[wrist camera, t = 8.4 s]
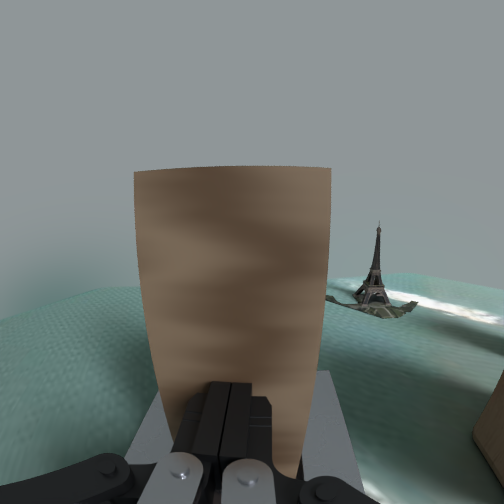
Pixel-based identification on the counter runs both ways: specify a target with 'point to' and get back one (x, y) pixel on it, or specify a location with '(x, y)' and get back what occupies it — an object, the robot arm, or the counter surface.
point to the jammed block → (236, 286)
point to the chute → (314, 448)
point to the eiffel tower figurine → (379, 300)
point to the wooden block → (492, 431)
